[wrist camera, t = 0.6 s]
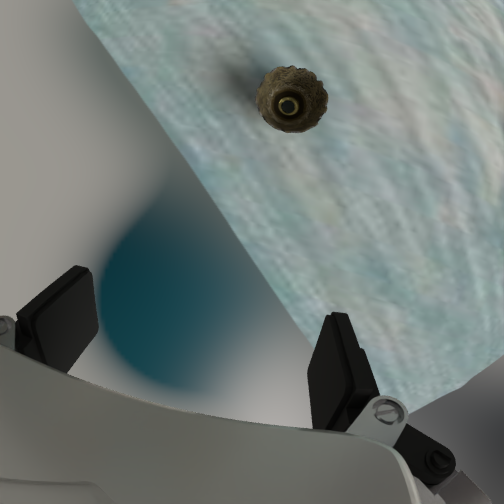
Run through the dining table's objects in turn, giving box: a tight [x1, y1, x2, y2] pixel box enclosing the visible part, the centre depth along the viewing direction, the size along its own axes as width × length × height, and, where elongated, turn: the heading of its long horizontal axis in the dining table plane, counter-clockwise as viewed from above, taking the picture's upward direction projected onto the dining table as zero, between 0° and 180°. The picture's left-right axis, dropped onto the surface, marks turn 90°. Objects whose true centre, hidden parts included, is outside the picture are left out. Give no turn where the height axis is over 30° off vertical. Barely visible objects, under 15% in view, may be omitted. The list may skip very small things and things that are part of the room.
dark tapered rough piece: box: [255, 65, 328, 133], centre depth 31 cm, size 8×7×8 cm
